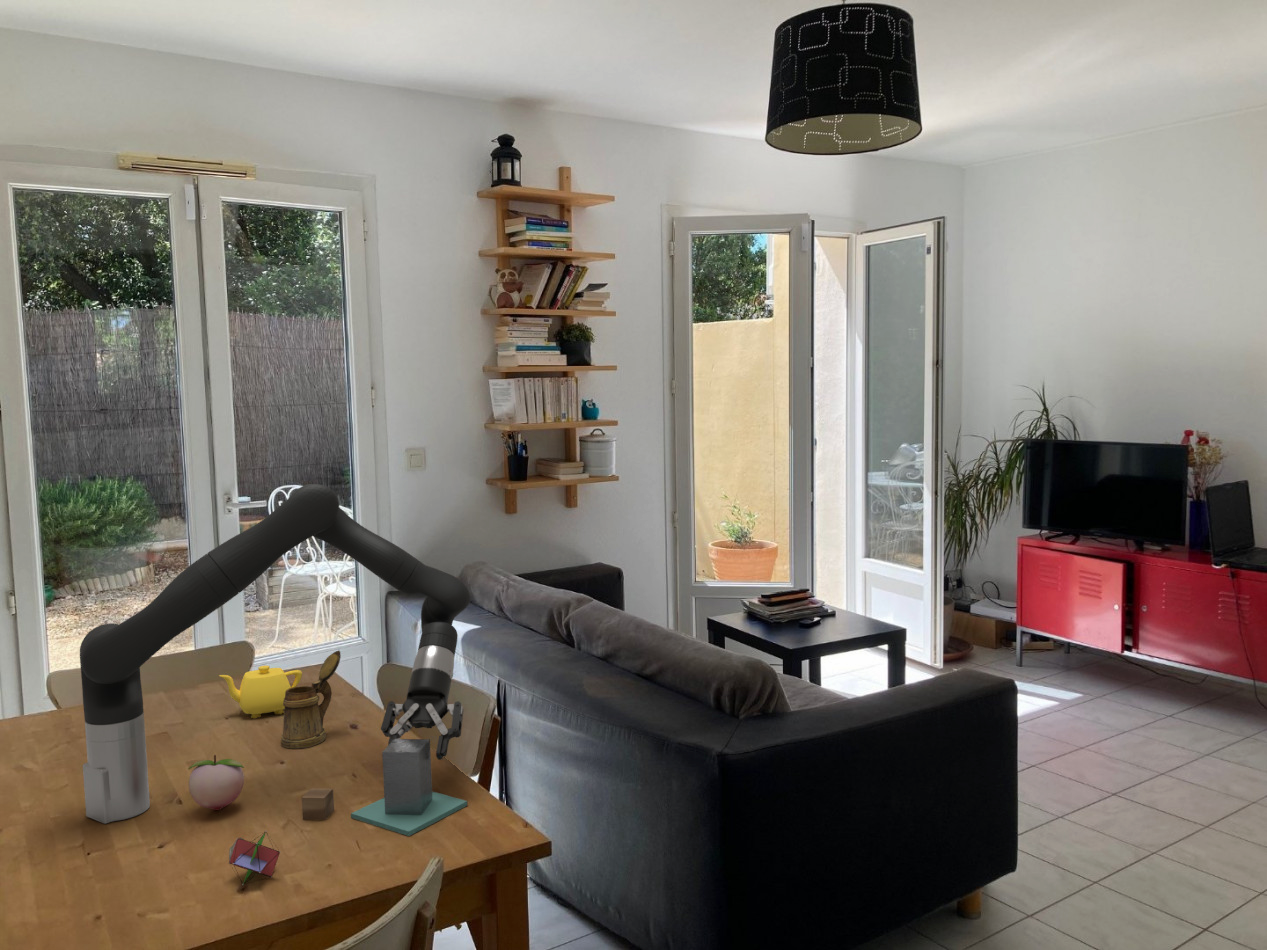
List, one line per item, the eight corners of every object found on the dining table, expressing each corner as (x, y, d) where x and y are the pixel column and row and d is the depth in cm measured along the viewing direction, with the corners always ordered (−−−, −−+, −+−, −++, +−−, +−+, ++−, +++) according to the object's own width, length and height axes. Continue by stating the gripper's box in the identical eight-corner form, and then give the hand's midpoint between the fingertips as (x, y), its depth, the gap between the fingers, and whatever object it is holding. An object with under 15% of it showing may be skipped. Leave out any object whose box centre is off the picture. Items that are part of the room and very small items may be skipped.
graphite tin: (421, 815, 170) (418, 752, 169) (385, 814, 171) (382, 752, 170) (432, 799, 177) (429, 739, 176) (397, 799, 177) (394, 738, 176)
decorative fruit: (185, 824, 171) (181, 767, 170) (193, 805, 179) (189, 751, 178) (243, 816, 173) (240, 760, 172) (248, 798, 181) (245, 744, 180)
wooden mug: (352, 736, 212) (348, 654, 211) (289, 752, 204) (284, 666, 202) (336, 726, 219) (332, 646, 218) (274, 740, 211) (270, 657, 209)
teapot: (223, 725, 221) (220, 678, 220) (219, 712, 231) (216, 666, 230) (307, 712, 229) (305, 667, 228) (300, 699, 239) (298, 655, 238)
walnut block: (325, 820, 171) (324, 798, 171) (302, 820, 171) (301, 797, 171) (334, 810, 175) (333, 788, 175) (312, 810, 175) (311, 788, 175)
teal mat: (409, 836, 164) (408, 831, 164) (351, 817, 172) (350, 813, 172) (467, 805, 176) (467, 801, 176) (410, 789, 183) (410, 785, 183)
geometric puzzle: (296, 852, 155) (263, 813, 154) (282, 873, 148) (247, 833, 147) (261, 880, 155) (227, 842, 154) (245, 903, 148) (210, 863, 147)
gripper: (389, 666, 185) (370, 748, 175) (464, 666, 184) (450, 749, 173) (400, 685, 191) (382, 766, 180) (473, 685, 189) (459, 766, 179)
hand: (415, 757), depth 177 cm, fingers open, 8 cm apart
